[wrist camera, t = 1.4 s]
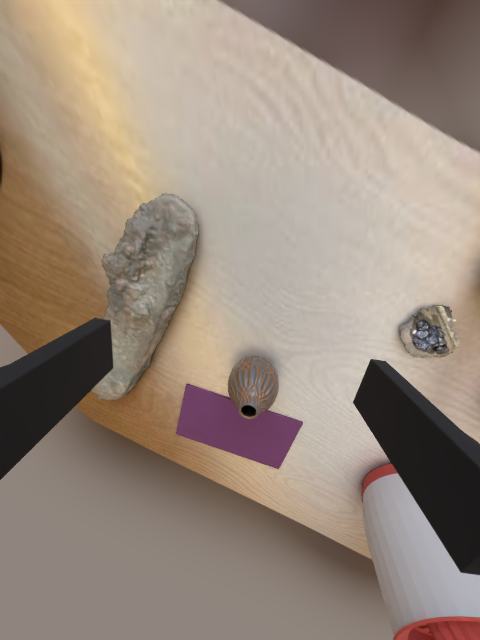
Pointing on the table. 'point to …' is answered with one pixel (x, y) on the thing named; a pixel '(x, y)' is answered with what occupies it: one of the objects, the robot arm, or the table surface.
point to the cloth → (235, 427)
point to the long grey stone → (145, 286)
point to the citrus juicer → (416, 566)
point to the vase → (253, 386)
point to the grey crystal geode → (430, 333)
